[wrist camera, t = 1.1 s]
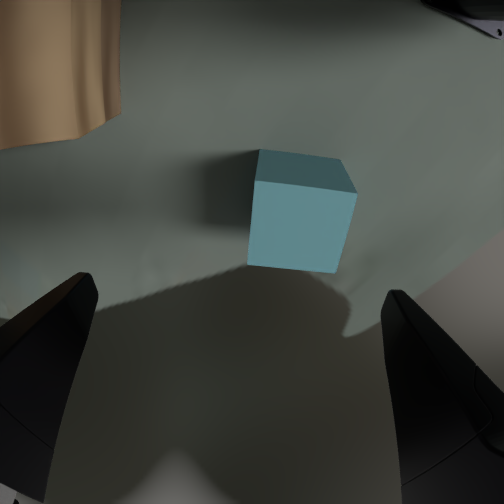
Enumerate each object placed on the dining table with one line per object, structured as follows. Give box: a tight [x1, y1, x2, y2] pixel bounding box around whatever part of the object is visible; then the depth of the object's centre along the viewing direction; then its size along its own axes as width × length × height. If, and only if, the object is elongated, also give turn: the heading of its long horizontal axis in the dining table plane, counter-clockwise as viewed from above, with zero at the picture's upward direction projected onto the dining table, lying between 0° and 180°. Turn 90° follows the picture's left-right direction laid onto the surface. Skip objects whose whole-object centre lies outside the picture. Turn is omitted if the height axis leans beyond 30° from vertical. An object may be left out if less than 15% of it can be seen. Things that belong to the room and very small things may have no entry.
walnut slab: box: [101, 0, 121, 122], centre depth 14 cm, size 9×9×3 cm
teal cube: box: [247, 149, 358, 273], centre depth 18 cm, size 5×5×5 cm
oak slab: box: [0, 0, 106, 150], centre depth 12 cm, size 9×9×3 cm
